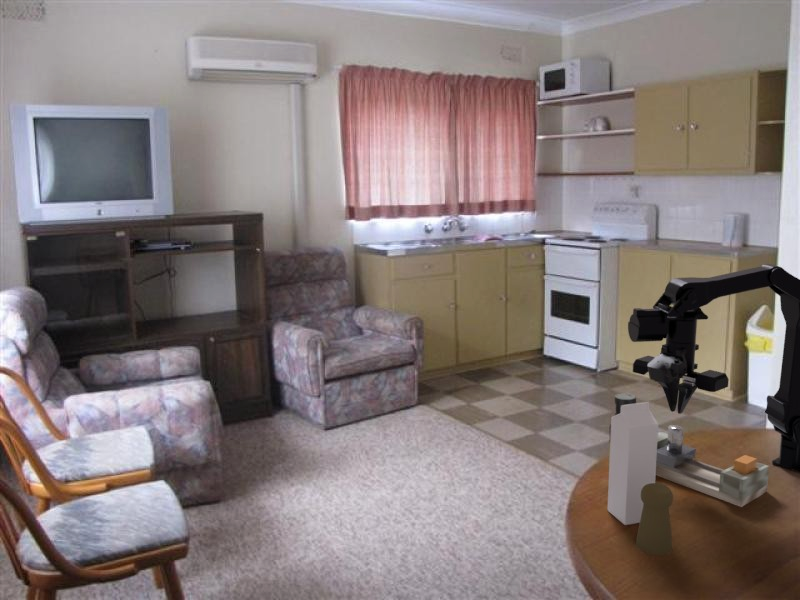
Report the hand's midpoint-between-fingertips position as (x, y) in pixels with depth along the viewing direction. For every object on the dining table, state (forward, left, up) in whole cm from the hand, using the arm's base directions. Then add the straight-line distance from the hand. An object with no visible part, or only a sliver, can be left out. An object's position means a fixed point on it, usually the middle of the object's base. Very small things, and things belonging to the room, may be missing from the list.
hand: (676, 412), depth 153 cm
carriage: (0, 0, -10) cm, 10 cm away
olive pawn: (+30, +15, -13) cm, 36 cm away
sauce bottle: (+16, -1, -13) cm, 21 cm away
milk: (+24, +6, -13) cm, 28 cm away
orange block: (0, +15, -8) cm, 17 cm away
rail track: (0, +5, -13) cm, 14 cm away
